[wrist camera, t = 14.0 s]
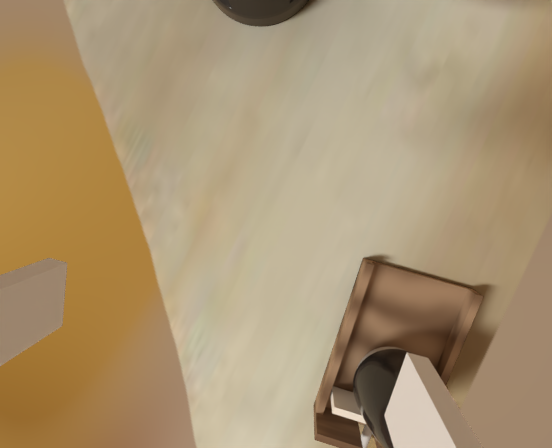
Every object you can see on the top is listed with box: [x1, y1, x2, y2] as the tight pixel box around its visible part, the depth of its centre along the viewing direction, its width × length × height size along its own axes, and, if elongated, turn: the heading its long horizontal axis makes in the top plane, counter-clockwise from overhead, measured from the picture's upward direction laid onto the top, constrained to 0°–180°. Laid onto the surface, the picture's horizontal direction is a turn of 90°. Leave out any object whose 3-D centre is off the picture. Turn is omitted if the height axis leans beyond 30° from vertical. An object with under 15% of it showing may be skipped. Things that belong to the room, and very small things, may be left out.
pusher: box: [330, 386, 372, 448], centre depth 42 cm, size 8×12×4 cm, turn 75°
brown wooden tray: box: [314, 258, 483, 448], centre depth 40 cm, size 24×15×6 cm, turn 165°
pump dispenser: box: [353, 347, 413, 448], centre depth 35 cm, size 10×10×15 cm
